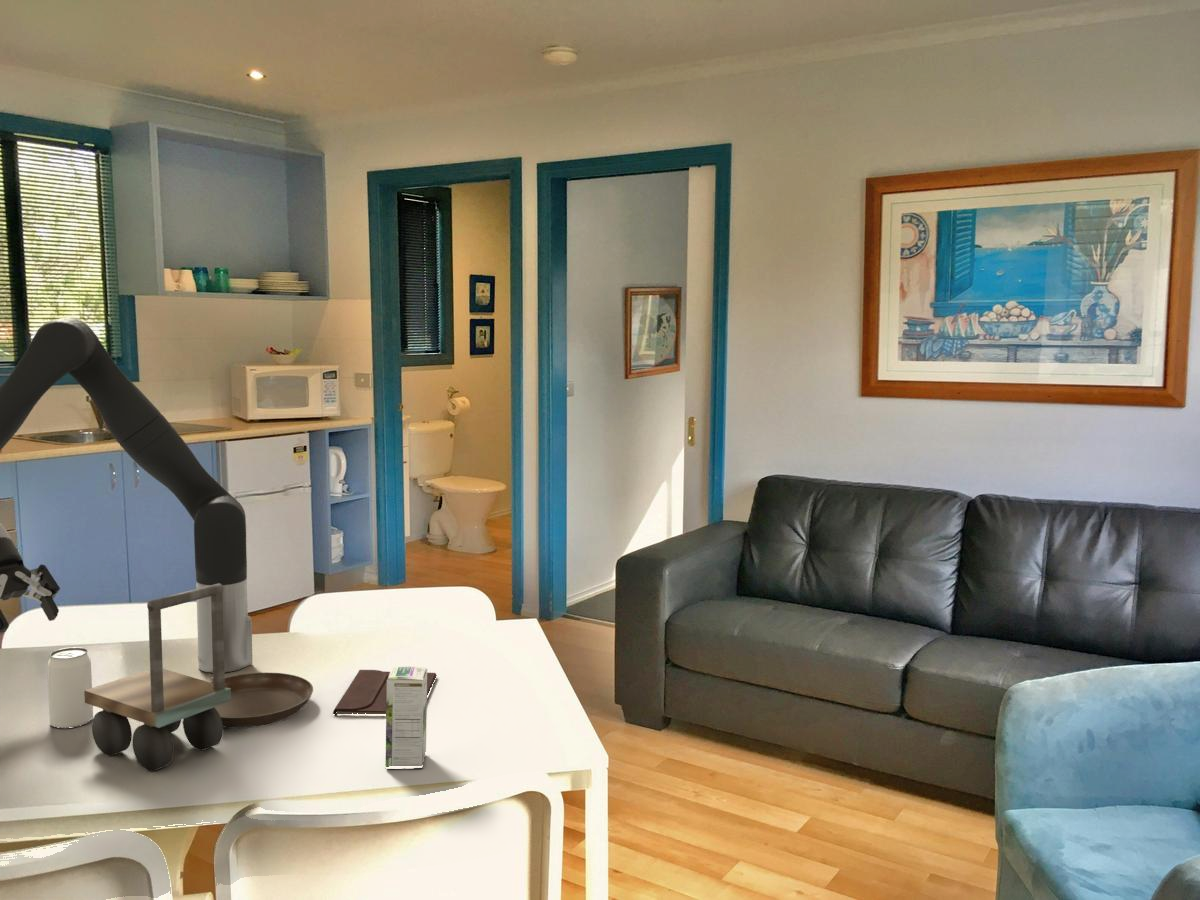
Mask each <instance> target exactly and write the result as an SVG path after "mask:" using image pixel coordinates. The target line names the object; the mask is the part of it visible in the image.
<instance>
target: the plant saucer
mask: <svg viewBox="0 0 1200 900" xmlns="http://www.w3.org/2000/svg"><path fill="white" fill-rule="evenodd" d="M210 683H213V681H212V682H210ZM225 687H227V688H230V689H231V701H229V702H227V703H224V704H221V705H219V706H216V707H214V708H215V709H216V710H217V711H218V713H219V715H220V717H221V720H222V724H223V728H226V727H227V728H229V729H230V728H231V729H245V728H246V729H249V728H257V727H259V728H260V727H264V726H268V725H272V724H276V723H278V722H279V721H280V722H282V721H285V720H287V719H289V718H291V717H292V716H294V715H296V714H297V713H298V712H299V711H300V710H301V709H302V708H303V707H304V706H306V704H307V703H308V701H309V700H310V698H311V697H312V695H313V692H314V686H313V684H312V683H311V681H308V680H307V679H306V678H303V677H301V676H299V675H298V676H297V675H295V674H289V673H283V672H253V673H245V674H238V675H231V676H227V677H225Z"/></svg>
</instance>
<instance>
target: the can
mask: <svg viewBox="0 0 1200 900" xmlns="http://www.w3.org/2000/svg"><path fill="white" fill-rule="evenodd" d="M46 665H47V668H46V669H47V687H48V688H47V689H48V691H47V692H48V693H47V694H48V710H49V713H48V714H49V724H50V725H51V726H52V727H53V726H55V727H59V728H69V727H76V726H80V725H83V726H85V725H87V724H89V723H90V722H91V721H92V720H93V718H94V706H93V705H90V704H87V703H85V696H84V690H87V689H90V688H93V679H92V678H93V677H92V676H93V675H92V661H91V657H90V656H89V654H88V649H87V648H85V647H75V646H74V647H64V648H60V649H57V650H54V651H52V652H51V653H50V654H49V660H48V662H47V664H46ZM90 720H91V721H90ZM89 721H90V722H89ZM88 722H89V723H88ZM86 723H87V724H86ZM84 724H85V725H84ZM55 727H54V728H55ZM80 727H81V726H80ZM59 728H58V729H59ZM76 728H77V727H76ZM69 729H70V728H69Z"/></svg>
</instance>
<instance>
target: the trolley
mask: <svg viewBox="0 0 1200 900" xmlns="http://www.w3.org/2000/svg"><path fill="white" fill-rule="evenodd" d="M209 596H211V615H212V654H213V673H212V677H213V678H212V680H213V681H212V682H213V683H211V682H209V681H207V680H202V679H199V678H197V677H196V678H195V677H192V676H189V675H186V674H183V673H178V672H175V671H172V670H170V669H169V670H168V669H165V668H164V667H163V640H162V639H163V638H162V611H161V610H164V609H166V608H167V609H168V608H171V607H175V606H178V605H182V604H185V603H186V604H187V603H190V602H194V601H197V600H198V599H202V598H206V597H209ZM147 614H148V636H149V637H148V642H149V643H148V644H149V645H148V647H149V669H147V670H143V671H141V672H138V673H135V674H132V675H129V676H125V677H122V678H119V679H116V680H113V681H109V682H106V683H103V684H100V685H98V686H97V685H96V686H92V688H90V689H87V690H84V696H85V703H87V704H90V705H93V707H96V708H99V709H102V710H100V711H98V712H96V713H95V714H94V715H93V718H92V720H91V721H92V723H91V732H92V738H93V741H94V743H95V744H96V747H97V748H98V749H99V751H100V752H101V753H103V754H104V755H105V756H114V755H118V754H119V753H122V752H124V751H126V750H127V749H129V747H130V745H132V749H133V753H134V756H135V759H136V760H137V762H138V763H139V765H140V766H141V767H142V768H143V769H144V770H145V771H149V772H155V771H156V770H159V769H162V768H164V767H167V766H168V765H170V764H171V762H172V760H173V758H174V754H175V748H174V746H175V745H174V741H173V738H172V734H171V733H174V732H176V731H178V729H179V728H180V726H181V723H182V728H183V733H184V735H185V738H186V739H187V741H188V743H189V744H190V746H192V747H193V748H194V749H196V750H198V751H205V750H207V749H210V748H212V747H215V746H217V745H219V744H220V742H221V741H222V738H223V736H224V727H223V724H222V720H221V717H220V715H219V713H218V711H217V710H216V709H215V708H214V707H216V706H219V705H221V704H224V703H227V702H229V701H231V689H230V688H227V687H225V678H226V677H225V673H226V672H224V632H223V586H222V585H221V584H220V583H218V584H215V585H211V586H207V587H203V588H199V589H192V590H188V591H187V590H186V591H183V592H180V593H176V594H171V595H168V596H163V597H159V598H156V599H151V600H148V601H147ZM129 719H131V720H134V721H137V722H140V723H143V724H142V725H139V726H137V728H136V729H135V730H134V732H133V734H132V726H131V724H130V721H129ZM131 743H132V744H131Z"/></svg>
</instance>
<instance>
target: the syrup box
mask: <svg viewBox="0 0 1200 900" xmlns="http://www.w3.org/2000/svg"><path fill="white" fill-rule="evenodd" d="M389 672H390V674H389V677H388V680H387V700H386V717H385V719H386V720H385V766H386V767H389V766H422V765H423V766H424V764H423V762H424V763H425V759H424V757H425V758H426V754H425V752H427V720H428V719H427V718H428V717H427V716H428V715H427V713H428V712H427V711H428V710H427V708H428V706H427V705H428V700H427V673H428V668H426V667H419V666H407V665H406V666H396V667H391V669H390V671H389Z"/></svg>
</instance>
